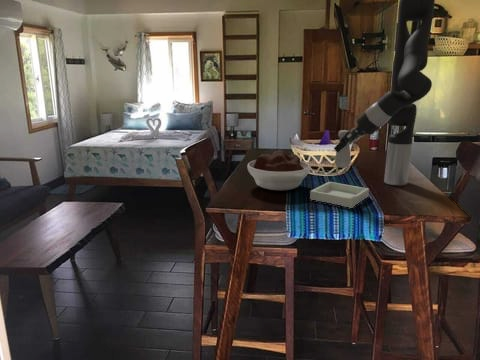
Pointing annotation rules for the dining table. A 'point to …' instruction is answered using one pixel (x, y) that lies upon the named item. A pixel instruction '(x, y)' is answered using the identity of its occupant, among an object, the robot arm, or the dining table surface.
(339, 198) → the tray
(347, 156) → the salt shaker
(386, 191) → the dining table surface
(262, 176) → the white bowl of pudding
